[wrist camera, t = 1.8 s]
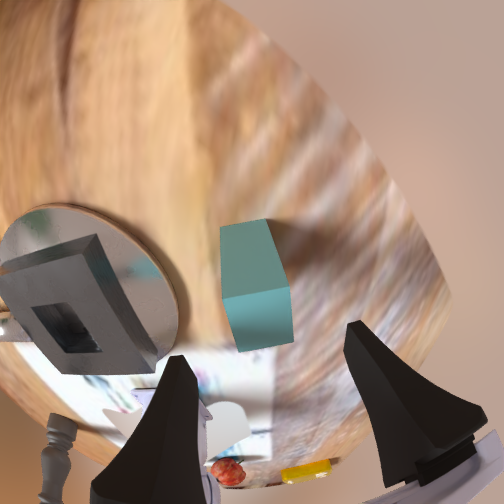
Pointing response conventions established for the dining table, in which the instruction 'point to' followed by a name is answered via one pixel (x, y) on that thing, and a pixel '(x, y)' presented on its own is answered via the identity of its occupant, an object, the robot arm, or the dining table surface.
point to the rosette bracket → (85, 293)
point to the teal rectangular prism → (254, 287)
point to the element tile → (306, 472)
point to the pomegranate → (228, 472)
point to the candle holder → (56, 458)
